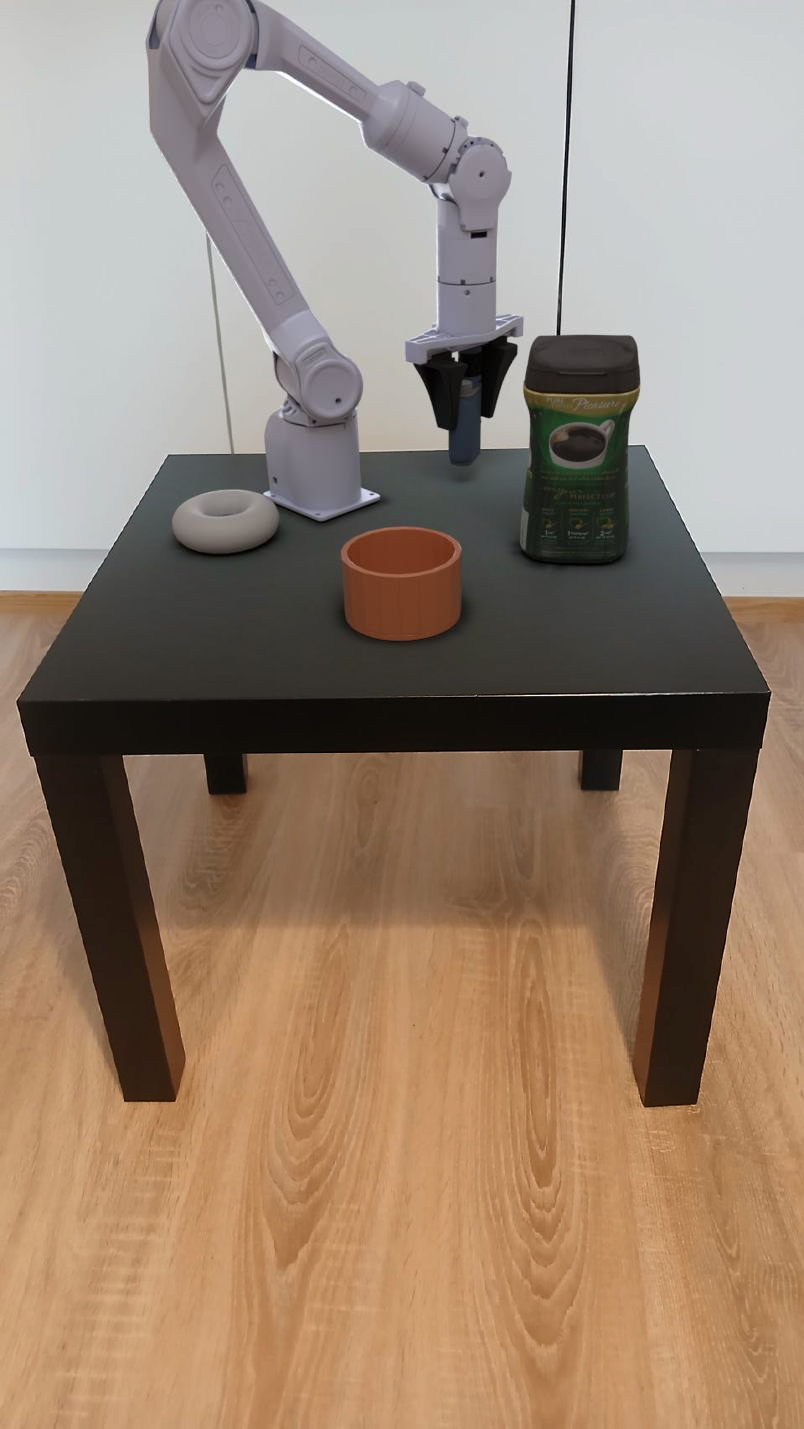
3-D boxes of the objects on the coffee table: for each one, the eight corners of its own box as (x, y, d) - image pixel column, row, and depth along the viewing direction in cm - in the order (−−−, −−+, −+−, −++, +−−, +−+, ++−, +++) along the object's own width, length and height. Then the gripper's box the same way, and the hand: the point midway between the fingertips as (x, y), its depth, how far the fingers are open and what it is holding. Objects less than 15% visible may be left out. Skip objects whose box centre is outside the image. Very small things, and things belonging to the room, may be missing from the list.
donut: (158, 558, 96) (262, 562, 94) (151, 522, 94) (258, 526, 92) (197, 515, 104) (294, 518, 102) (192, 482, 102) (290, 484, 101)
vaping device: (483, 451, 111) (486, 332, 104) (470, 468, 106) (471, 346, 100) (460, 449, 111) (460, 331, 105) (445, 465, 107) (445, 344, 101)
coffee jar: (625, 532, 98) (644, 324, 87) (628, 569, 91) (649, 348, 81) (520, 529, 99) (527, 323, 89) (515, 565, 92) (522, 347, 82)
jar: (321, 613, 86) (316, 551, 83) (405, 576, 91) (403, 517, 88) (400, 653, 80) (397, 588, 77) (485, 611, 85) (486, 549, 82)
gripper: (488, 262, 106) (485, 398, 113) (381, 286, 98) (386, 430, 105) (541, 271, 102) (535, 411, 109) (434, 296, 93) (435, 446, 101)
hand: (465, 422), depth 107 cm, fingers closed on vaping device, 5 cm apart
